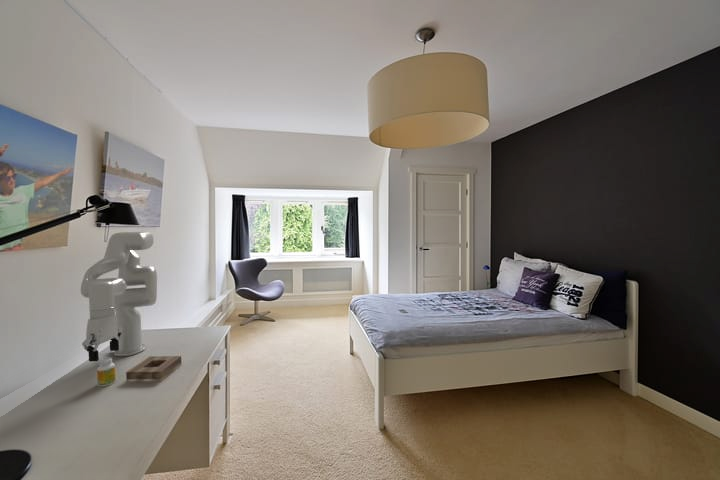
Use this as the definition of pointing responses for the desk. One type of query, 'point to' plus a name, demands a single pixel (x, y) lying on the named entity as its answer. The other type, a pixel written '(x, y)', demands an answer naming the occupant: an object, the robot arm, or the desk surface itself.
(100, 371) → the supplement bottle
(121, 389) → the desk surface
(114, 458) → the desk surface
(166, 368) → the socket block
